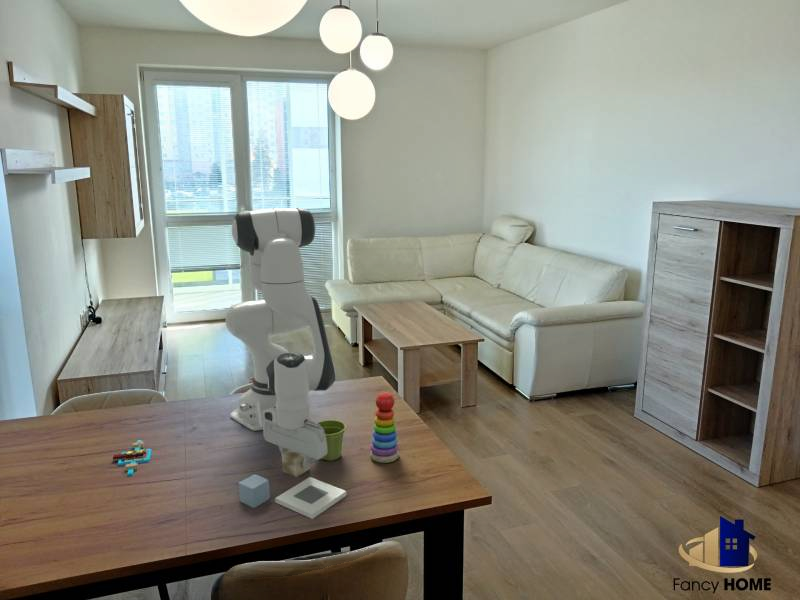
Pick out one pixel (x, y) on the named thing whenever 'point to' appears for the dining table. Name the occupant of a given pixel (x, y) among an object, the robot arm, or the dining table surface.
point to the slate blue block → (254, 490)
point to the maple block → (293, 463)
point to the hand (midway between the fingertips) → (296, 464)
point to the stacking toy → (384, 431)
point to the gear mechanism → (137, 454)
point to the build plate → (310, 497)
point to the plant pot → (333, 438)
